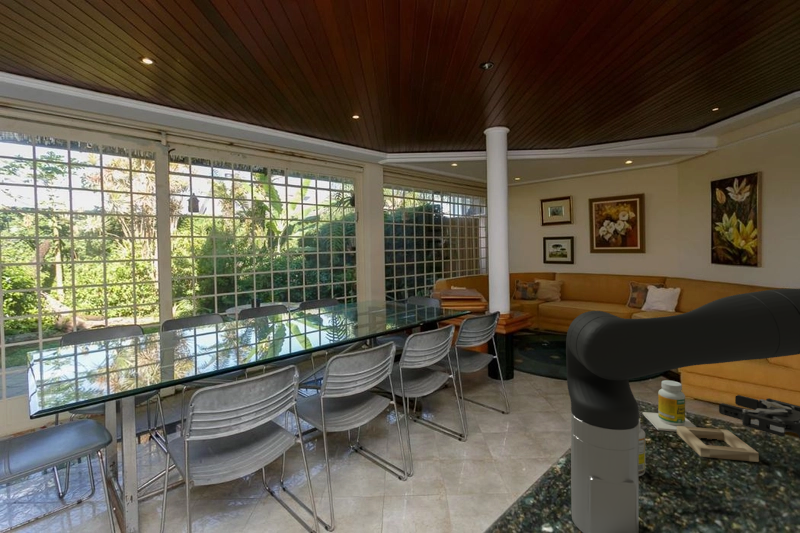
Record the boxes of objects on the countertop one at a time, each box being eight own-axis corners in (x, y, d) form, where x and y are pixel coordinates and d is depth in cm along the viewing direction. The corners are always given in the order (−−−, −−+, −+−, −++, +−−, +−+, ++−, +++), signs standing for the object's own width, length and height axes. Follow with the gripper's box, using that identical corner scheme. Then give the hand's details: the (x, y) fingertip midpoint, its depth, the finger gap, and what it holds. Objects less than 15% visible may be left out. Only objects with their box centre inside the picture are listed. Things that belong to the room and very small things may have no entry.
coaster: (701, 433, 86) (701, 431, 86) (657, 430, 88) (657, 427, 88) (682, 416, 94) (682, 414, 94) (642, 413, 97) (642, 412, 97)
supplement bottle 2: (663, 414, 95) (663, 377, 94) (688, 422, 90) (689, 383, 90) (654, 420, 92) (654, 382, 91) (679, 428, 87) (680, 388, 87)
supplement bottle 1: (617, 458, 76) (617, 409, 76) (648, 469, 72) (649, 418, 72) (607, 469, 73) (607, 418, 72) (640, 481, 68) (640, 427, 68)
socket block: (758, 462, 74) (758, 453, 74) (700, 456, 76) (700, 447, 76) (727, 437, 84) (727, 429, 84) (676, 433, 86) (676, 425, 86)
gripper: (851, 405, 71) (740, 380, 85) (830, 423, 64) (714, 393, 78) (850, 443, 71) (740, 412, 85) (829, 466, 64) (713, 428, 78)
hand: (728, 403), depth 81 cm, fingers open, 8 cm apart
